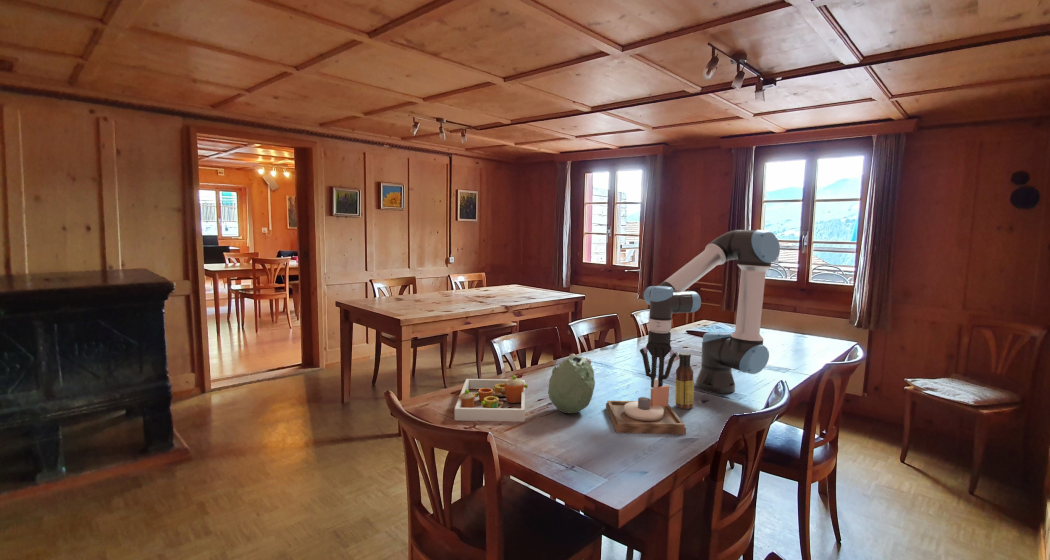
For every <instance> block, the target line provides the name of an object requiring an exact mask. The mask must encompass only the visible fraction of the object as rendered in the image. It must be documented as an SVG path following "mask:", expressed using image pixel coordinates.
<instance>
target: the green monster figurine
mask: <svg viewBox="0 0 1050 560" xmlns="http://www.w3.org/2000/svg"><path fill="white" fill-rule="evenodd" d="M595 384H596V381H595V371H594V368H593V365H592V360H591V359H590V358H588V357H586V358H585V357H583V356H579V355H576V354H575V353H569V356H568V357H567V358H565V359H564V360H562V361H561V362H559V365H558V366H555V365H554V366H553V368H552V371H551V375H550V378H549V381H548V390H547V394H548V398H549V401H550V402H551V403H552V404H553V406H555V408H556V409H557V410H559V411H560V412H562V413H565V414H575V413H577V414H578V413H579V412H581V411H583V410H584V409H586V408H587V407H588V406H589V405H590V402H591V401H592V398H593V394H594V390H595V386H596V385H595Z"/></svg>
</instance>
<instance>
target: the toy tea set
mask: <svg viewBox="0 0 1050 560" xmlns="http://www.w3.org/2000/svg"><path fill="white" fill-rule="evenodd" d="M521 380H522V379H519V378H517V376H516V375H512V377H511V378H509V380H507V381H506V382H505V383H504V384H496V385H494V387H493V388H494V390H493V389H491V388H481V389H479V390H477V392H475V393H472V392H470V390H468V389H466V390H465V393H462V394H461V393H460V394H459V395H458V399H459V398H460V399H462V408H474V405H475V398H478V399H479V402H480V404H481V406H482V407H481V408H502V405H504V401H499V397H501V398H502V397H505V399H506V402H507V403H512V404H518V403H521V398H522V392H523V390H524V388H525V389H528V387H529V385H528V384H527V383H525V385H524V383H523V382H522V381H521Z"/></svg>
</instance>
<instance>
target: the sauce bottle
mask: <svg viewBox="0 0 1050 560" xmlns="http://www.w3.org/2000/svg"><path fill="white" fill-rule="evenodd" d="M691 356H692V354H691V353H689V352H679V353H678V358H679V361H678V367H677V368H676V370H675V406H676V407H677V408H679V409H683V410H689V409H693V406H694V385H695V384H694V381H695V380H694V371H693V368H692V366H691V358H692V357H691Z"/></svg>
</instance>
